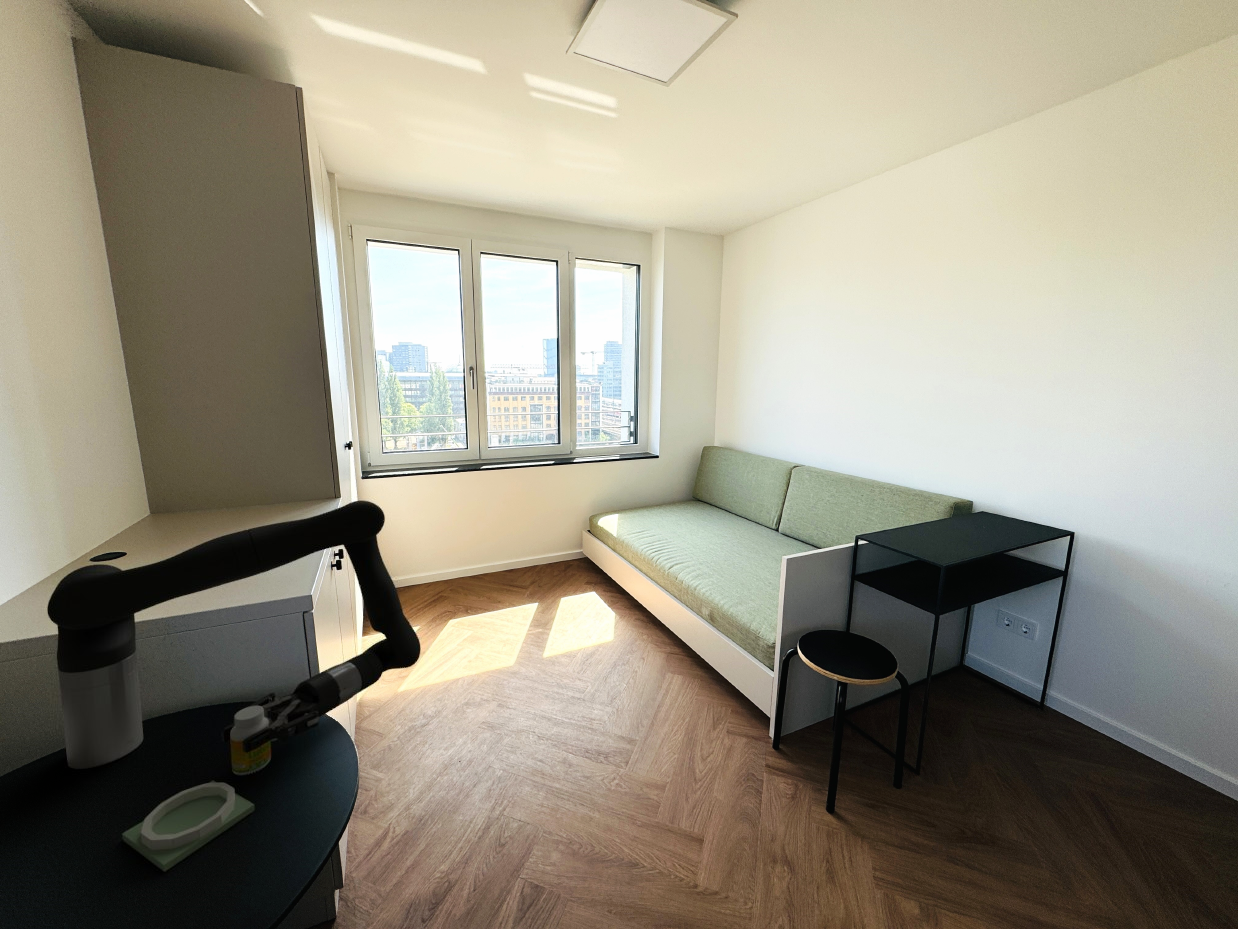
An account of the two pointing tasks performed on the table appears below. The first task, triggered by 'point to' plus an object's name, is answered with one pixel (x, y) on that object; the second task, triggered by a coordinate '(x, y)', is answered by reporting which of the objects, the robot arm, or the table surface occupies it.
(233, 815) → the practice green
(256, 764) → the supplement bottle
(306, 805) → the table surface
